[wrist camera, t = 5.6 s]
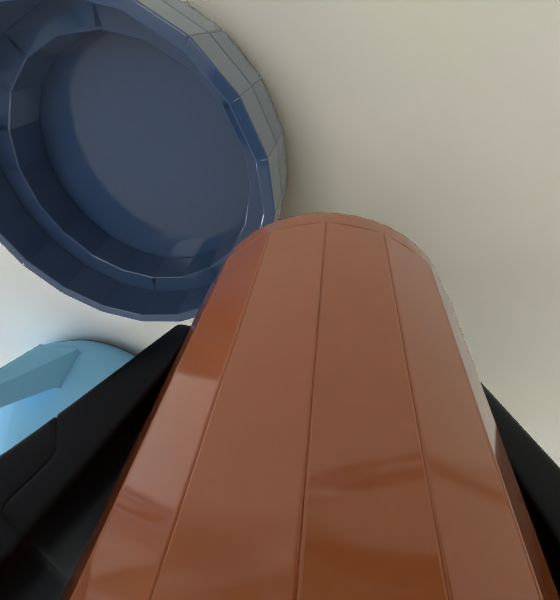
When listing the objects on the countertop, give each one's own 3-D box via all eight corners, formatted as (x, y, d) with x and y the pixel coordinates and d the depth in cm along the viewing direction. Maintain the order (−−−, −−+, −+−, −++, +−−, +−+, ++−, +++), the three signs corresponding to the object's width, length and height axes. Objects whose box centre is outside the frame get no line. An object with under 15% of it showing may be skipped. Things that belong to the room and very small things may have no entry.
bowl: (222, 305, 25) (200, 357, 21) (12, 198, 22) (-57, 238, 18) (344, 109, 16) (344, 139, 13) (29, -108, 13) (-93, -154, 10)
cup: (345, 410, 13) (347, 734, 7) (182, 329, 11) (19, 655, 6) (501, 298, 9) (769, 796, 3) (286, 156, 8) (117, 604, 2)
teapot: (143, 449, 39) (89, 567, 31) (5, 378, 34) (-104, 497, 26) (224, 395, 31) (180, 536, 23) (58, 292, 26) (-76, 425, 18)
